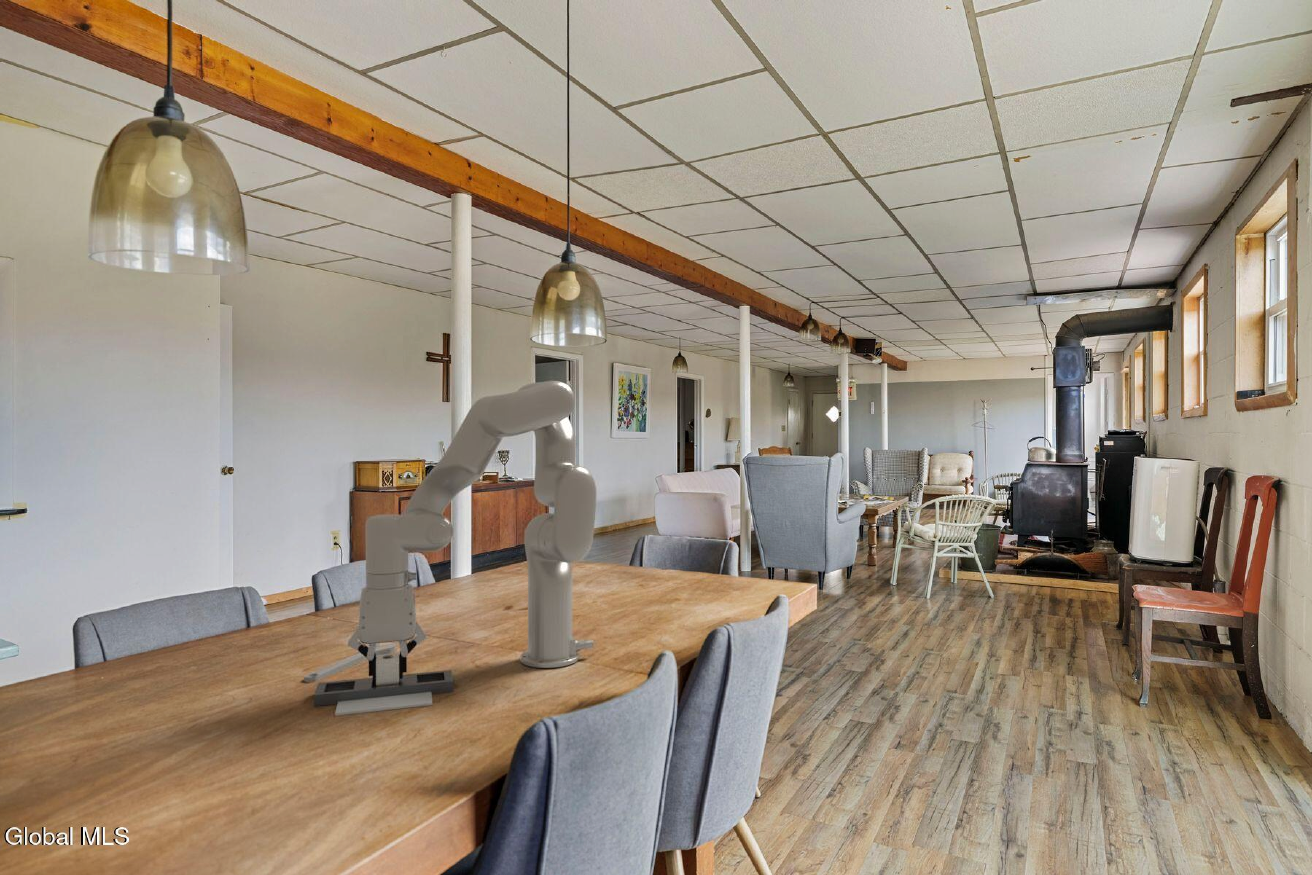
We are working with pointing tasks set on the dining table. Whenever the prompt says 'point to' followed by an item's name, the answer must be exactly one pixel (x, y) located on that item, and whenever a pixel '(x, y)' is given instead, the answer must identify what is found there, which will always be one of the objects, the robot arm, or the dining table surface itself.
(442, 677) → the rail
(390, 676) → the grey post with hole
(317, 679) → the adjustable wrench
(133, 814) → the dining table surface
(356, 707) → the mat
